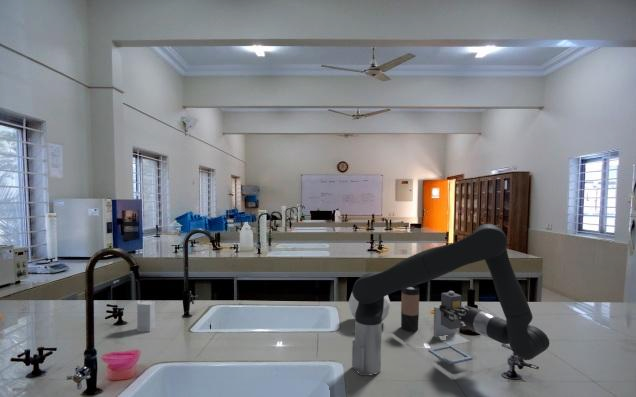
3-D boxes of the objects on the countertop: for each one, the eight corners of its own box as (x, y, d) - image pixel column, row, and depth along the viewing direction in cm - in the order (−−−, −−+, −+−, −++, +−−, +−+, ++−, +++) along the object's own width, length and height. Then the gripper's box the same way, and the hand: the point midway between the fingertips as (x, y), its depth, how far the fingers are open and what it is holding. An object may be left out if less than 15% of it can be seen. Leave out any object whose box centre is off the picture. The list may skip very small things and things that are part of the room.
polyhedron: (375, 341, 156) (380, 317, 144) (339, 317, 166) (341, 293, 154) (394, 312, 168) (400, 287, 156) (360, 292, 178) (363, 267, 165)
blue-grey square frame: (449, 368, 121) (449, 362, 120) (428, 354, 131) (428, 349, 131) (472, 362, 125) (472, 357, 125) (450, 349, 135) (450, 344, 135)
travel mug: (414, 336, 146) (415, 290, 146) (397, 332, 151) (398, 287, 150) (420, 331, 152) (421, 287, 152) (404, 326, 157) (405, 283, 157)
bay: (449, 349, 135) (450, 314, 135) (433, 339, 144) (434, 306, 143) (470, 344, 139) (471, 311, 139) (453, 335, 148) (454, 303, 148)
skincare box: (155, 328, 151) (155, 301, 151) (149, 332, 147) (150, 304, 147) (142, 327, 152) (142, 301, 152) (136, 331, 148) (136, 304, 147)
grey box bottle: (450, 329, 124) (451, 294, 124) (440, 324, 129) (441, 290, 128) (461, 327, 126) (461, 293, 126) (450, 322, 131) (451, 289, 130)
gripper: (498, 309, 117) (460, 295, 132) (466, 314, 111) (431, 299, 127) (497, 330, 117) (460, 314, 132) (466, 337, 111) (430, 319, 127)
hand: (446, 306), depth 130 cm, fingers closed on grey box bottle, 5 cm apart
